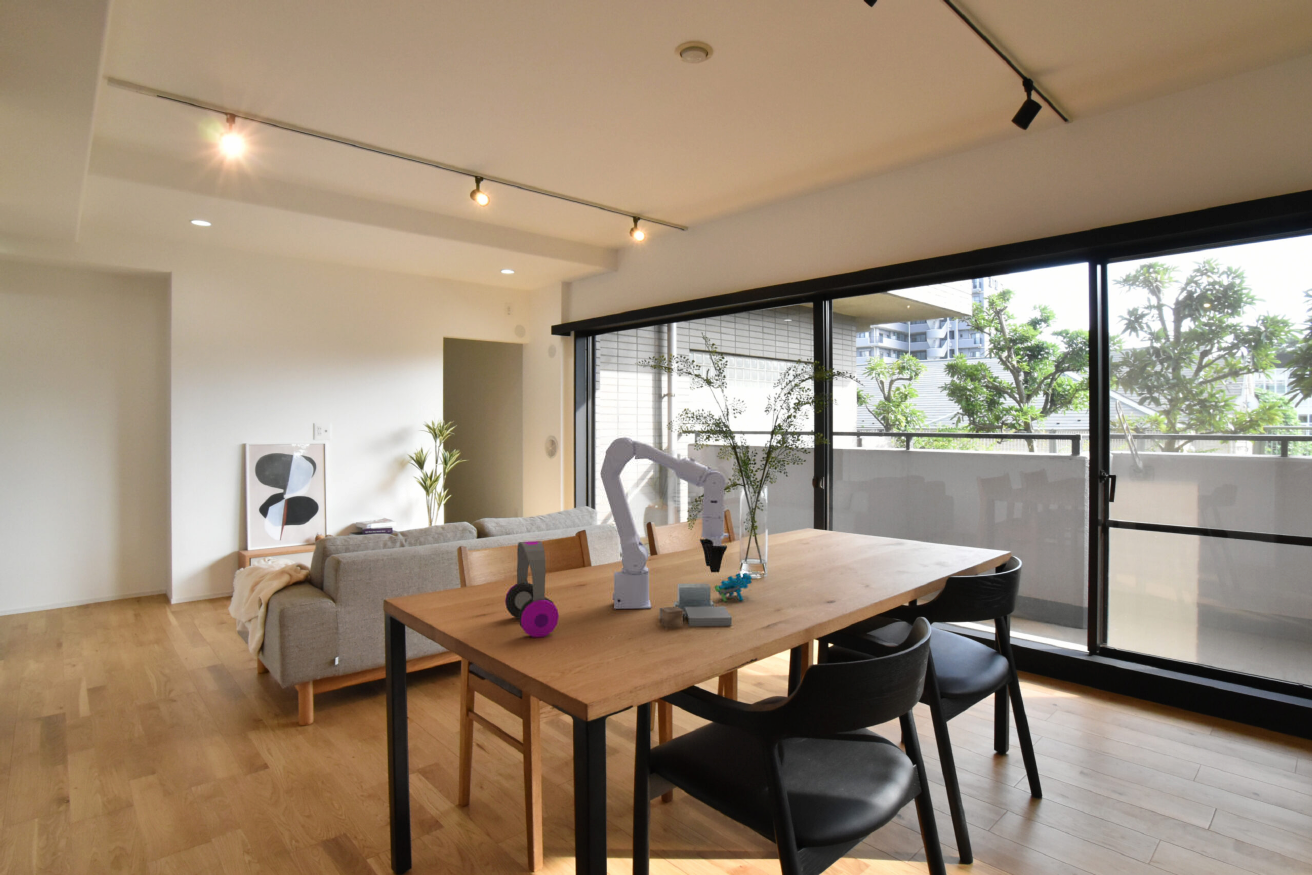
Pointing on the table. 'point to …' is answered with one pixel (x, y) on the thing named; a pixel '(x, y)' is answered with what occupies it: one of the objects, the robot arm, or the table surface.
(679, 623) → the walnut block
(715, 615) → the stand
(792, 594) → the table surface
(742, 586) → the blue bumpy figure
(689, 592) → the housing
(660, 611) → the bolt
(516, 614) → the headphones
